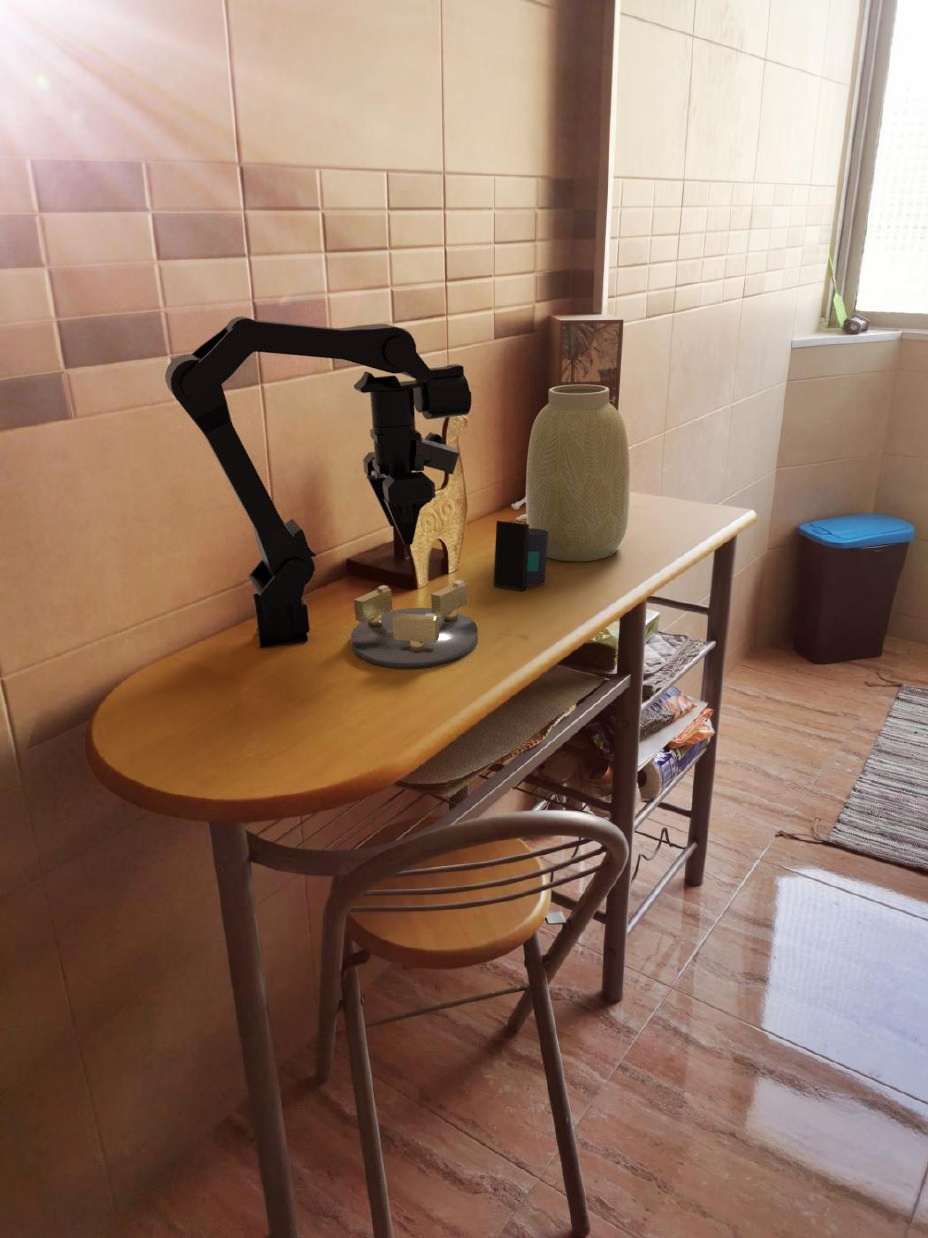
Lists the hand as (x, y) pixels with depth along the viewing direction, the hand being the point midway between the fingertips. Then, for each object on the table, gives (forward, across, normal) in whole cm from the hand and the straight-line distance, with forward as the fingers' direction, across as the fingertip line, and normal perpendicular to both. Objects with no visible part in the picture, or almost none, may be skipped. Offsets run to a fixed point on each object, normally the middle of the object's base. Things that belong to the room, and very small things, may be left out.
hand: (401, 534), depth 130 cm
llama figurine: (+12, +32, -36) cm, 50 cm away
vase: (+12, +18, -34) cm, 40 cm away
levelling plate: (+12, -10, +1) cm, 16 cm away
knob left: (+10, -6, +6) cm, 13 cm away
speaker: (+12, +6, -20) cm, 24 cm away
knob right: (+10, -8, -5) cm, 14 cm away
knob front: (+10, -16, +2) cm, 19 cm away
